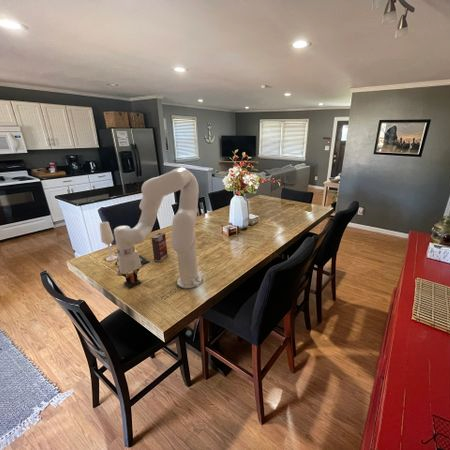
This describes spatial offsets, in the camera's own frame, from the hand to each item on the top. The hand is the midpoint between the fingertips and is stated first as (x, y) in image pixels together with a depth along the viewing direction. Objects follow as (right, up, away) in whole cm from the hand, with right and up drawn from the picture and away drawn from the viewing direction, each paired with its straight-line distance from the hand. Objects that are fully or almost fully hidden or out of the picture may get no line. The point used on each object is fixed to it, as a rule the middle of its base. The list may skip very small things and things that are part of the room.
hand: (132, 281), depth 126 cm
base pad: (-11, +6, +22) cm, 25 cm away
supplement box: (+5, +8, +28) cm, 29 cm away
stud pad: (0, -1, +1) cm, 2 cm away
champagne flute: (-27, +8, +27) cm, 39 cm away
